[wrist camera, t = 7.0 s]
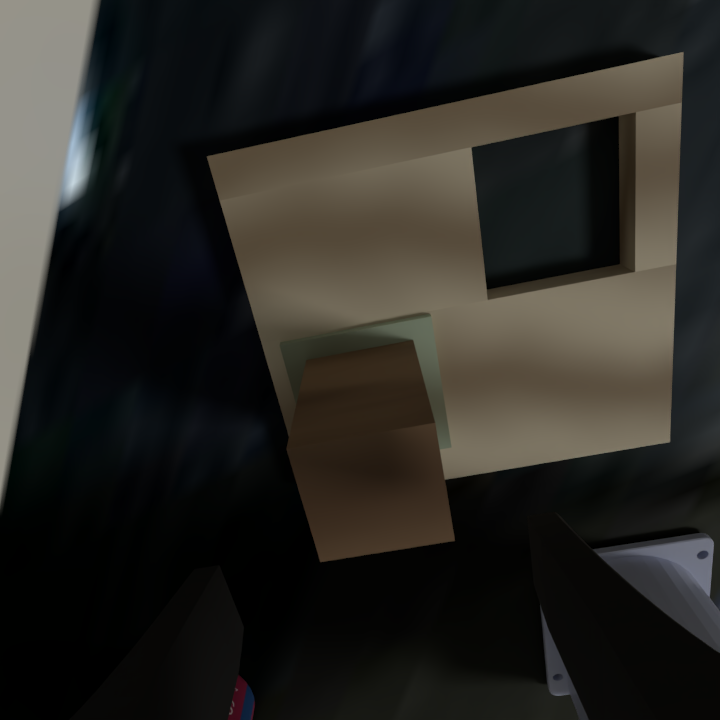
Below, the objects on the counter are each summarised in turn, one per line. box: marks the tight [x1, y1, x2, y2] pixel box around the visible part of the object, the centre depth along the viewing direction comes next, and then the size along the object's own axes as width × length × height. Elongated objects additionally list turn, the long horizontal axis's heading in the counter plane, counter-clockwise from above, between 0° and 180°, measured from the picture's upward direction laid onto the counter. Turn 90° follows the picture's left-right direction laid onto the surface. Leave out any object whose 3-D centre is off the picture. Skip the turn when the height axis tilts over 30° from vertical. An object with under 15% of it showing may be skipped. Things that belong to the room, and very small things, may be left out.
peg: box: [286, 340, 455, 562], centre depth 18 cm, size 4×4×6 cm
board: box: [207, 52, 683, 479], centre depth 20 cm, size 14×15×2 cm
